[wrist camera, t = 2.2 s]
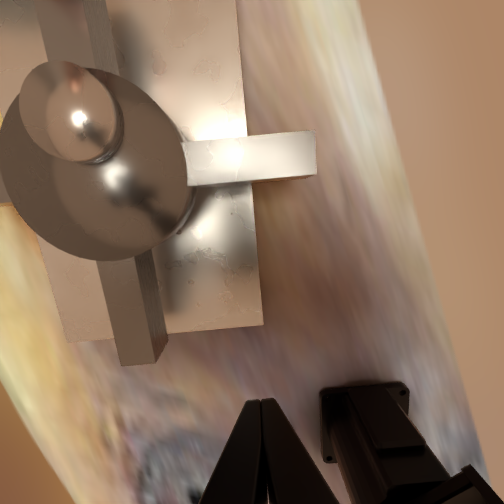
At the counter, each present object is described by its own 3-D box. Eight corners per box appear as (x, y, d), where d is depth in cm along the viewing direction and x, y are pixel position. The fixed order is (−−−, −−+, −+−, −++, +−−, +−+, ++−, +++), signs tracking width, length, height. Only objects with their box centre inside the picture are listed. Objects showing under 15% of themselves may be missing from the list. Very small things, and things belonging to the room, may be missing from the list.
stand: (261, 309, 16) (267, 356, 11) (89, 325, 16) (20, 379, 11) (221, -151, 11) (200, -427, 6) (-30, -127, 11) (-246, -383, 6)
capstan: (310, 326, 13) (341, 388, 8) (-2, 355, 13) (-126, 431, 8) (294, -72, 9) (335, -310, 5) (-142, -31, 9) (-480, -232, 5)
